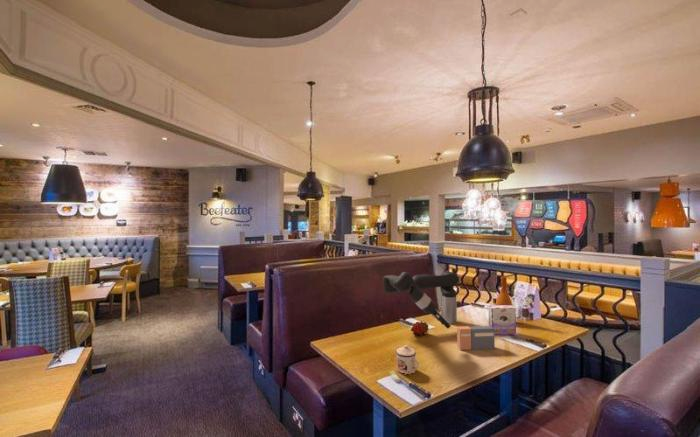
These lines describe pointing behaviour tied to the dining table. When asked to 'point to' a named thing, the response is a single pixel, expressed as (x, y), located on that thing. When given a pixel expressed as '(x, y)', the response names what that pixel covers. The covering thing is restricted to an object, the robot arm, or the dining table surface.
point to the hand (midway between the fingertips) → (446, 324)
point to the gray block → (482, 337)
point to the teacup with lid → (406, 360)
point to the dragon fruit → (419, 328)
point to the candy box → (503, 319)
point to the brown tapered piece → (503, 294)
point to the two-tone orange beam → (464, 337)
